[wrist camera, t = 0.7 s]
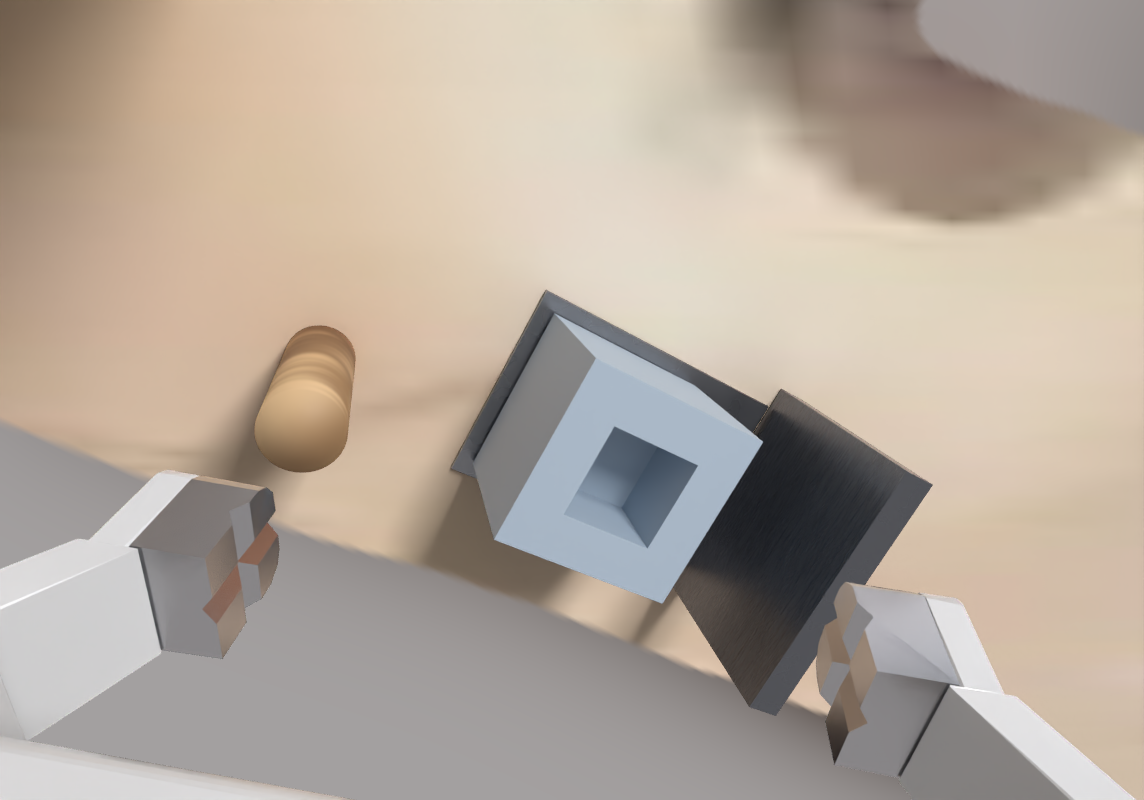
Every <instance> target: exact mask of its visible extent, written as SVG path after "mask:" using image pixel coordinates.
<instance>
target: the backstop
mask: <svg viewBox="0 0 1144 800" xmlns="http://www.w3.org/2000/svg"><path fill="white" fill-rule="evenodd" d="M554 313H555V314H557V315H559V316H561V317H562V318H564V319H566V320H568V321H570V322H572V323H574V324H576V325H578V326H580V327H582V328H584V329H586V330H588V331H590V332H592V333H594V334H596V335H597V336H599V337H601V338H603V339H605V340H607V341H609V342H611V343H613V344H615V345H617V346H619V347H621V348H623V349H625V350H627V351H629V352H631V353H632V354H634V355H636V356H638V357H640V358H642V359H644V360H646V361H648V362H650V363H652V364H654V365H656V366H658V367H660V368H662V369H664V370H666V371H667V372H669V373H671V374H673V375H675V376H677V377H679V378H681V379H683V380H685V381H687V382H689V383H691V384H693V385H695V386H696V387H697V388H698V389H700V390H701V391H702V392H703V393H704V394H706V395H707V396H708V397H709V398H711V399H712V400H713V401H714V402H715V403H717V404H718V405H719V406H720V407H721V408H723V409H724V410H725V411H726V412H728V413H729V414H730V415H731V416H732V417H734V418H735V419H736V420H737V421H738V422H740V423H741V424H742V425H743V426H745V427H746V428H747V429H748V430H749V431H751V432H752V433H753V431H754V430H755V428H756V426H757V425H758V423H759V421H760V420H761V418H762V417H763V415H764V413H765V412H766V410H767V409H768V406H767V405H765V404H763V403H761V402H759V401H757V400H755V399H753V398H751V397H750V396H748V395H746V394H744V393H742V392H740V391H738V390H736V389H734V388H732V387H731V386H729V385H727V384H725V383H723V382H721V381H719V380H717V379H715V378H713V377H711V376H710V375H708V374H706V373H704V372H702V371H700V370H698V369H696V368H694V367H692V366H690V365H689V364H687V363H685V362H683V361H681V360H679V359H677V358H675V357H673V356H671V355H669V354H668V353H666V352H664V351H662V350H660V349H658V348H656V347H654V346H652V345H650V344H649V343H647V342H645V341H643V340H641V339H639V338H637V337H635V336H633V335H631V334H629V333H628V332H626V331H624V330H622V329H620V328H618V327H616V326H614V325H612V324H610V323H608V322H607V321H605V320H603V319H601V318H599V317H597V316H595V315H593V314H591V313H589V312H587V311H586V310H584V309H582V308H580V307H578V306H576V305H574V304H572V303H570V302H568V301H567V300H565V299H563V298H561V297H559V296H557V295H555V294H553V293H551V292H549V291H547V290H546V291H545V293H544V295H543V297H542V299H541V301H540V302H539V304H538V306H537V308H536V310H535V312H534V314H533V315H532V317H531V319H530V321H529V323H528V325H527V327H526V328H525V330H524V332H523V334H522V336H521V338H520V340H519V341H518V343H517V345H516V347H515V349H514V351H513V353H512V354H511V356H510V358H509V360H508V362H507V364H506V366H505V367H504V369H503V371H502V373H501V375H500V377H499V379H498V380H497V382H496V384H495V386H494V388H493V390H492V392H491V393H490V395H489V397H488V399H487V401H486V403H485V405H484V406H483V408H482V410H481V412H480V414H479V416H478V418H477V419H476V421H475V423H474V425H473V427H472V429H471V431H470V432H469V434H468V436H467V438H466V440H465V442H464V444H463V445H462V447H461V449H460V451H459V453H458V455H457V457H456V458H455V460H454V462H453V464H452V466H451V469H454V470H456V471H459V472H461V473H463V474H466V475H468V476H471V477H473V478H476V479H477V476H476V473H475V469H474V466H473V462H474V460H475V458H476V456H477V455H478V453H479V451H480V449H481V447H482V445H483V444H484V442H485V440H486V438H487V436H488V434H489V433H490V431H491V429H492V427H493V425H494V423H495V422H496V420H497V418H498V416H499V414H500V412H501V410H502V409H503V407H504V405H505V403H506V401H507V399H508V398H509V396H510V394H511V392H512V390H513V388H514V387H515V385H516V383H517V381H518V379H519V377H520V376H521V374H522V372H523V370H524V368H525V366H526V365H527V363H528V361H529V359H530V357H531V355H532V353H533V352H534V350H535V348H536V346H537V344H538V342H539V341H540V339H541V337H542V335H543V333H544V331H545V330H546V328H547V326H548V324H549V322H550V320H551V319H552V317H553V315H554ZM753 434H754V435H755V436H757V437H758V438H759V439H760V440H762V441H763V443H762V445H761V446H760V448H759V450H758V451H757V453H756V454H755V456H754V458H753V459H752V461H751V463H750V464H749V466H748V467H747V469H746V471H745V472H744V474H743V475H742V477H741V479H740V480H739V482H738V483H737V485H736V487H735V488H734V490H733V491H732V493H731V495H730V496H729V498H728V499H727V501H726V503H725V504H724V506H723V507H722V509H721V511H720V512H719V514H718V515H717V517H716V519H715V520H714V522H713V523H712V525H711V527H710V528H709V530H708V532H707V533H706V535H705V536H704V538H703V540H702V541H701V543H700V544H699V546H698V548H697V549H696V551H695V552H694V554H693V556H692V557H691V559H690V560H689V562H688V564H687V565H686V567H685V568H684V570H683V572H682V573H681V575H680V576H679V578H678V580H677V581H676V583H675V584H674V586H673V588H674V589H675V591H676V592H677V594H678V595H679V597H680V599H681V600H682V602H683V603H684V605H685V606H686V608H687V610H688V611H689V613H690V614H691V616H692V617H693V619H694V621H695V622H696V624H697V625H698V627H699V628H700V630H701V632H702V633H703V635H704V636H705V638H706V639H707V641H708V643H709V644H710V646H711V647H712V649H713V650H714V652H715V654H716V655H717V657H718V658H719V660H720V661H721V663H722V665H723V666H724V668H725V669H726V671H727V672H728V674H729V676H730V677H731V679H732V680H733V682H734V683H735V685H736V687H737V688H738V690H739V691H740V693H741V694H742V696H743V698H744V699H745V701H746V702H747V704H748V706H749V707H751V708H754V709H757V710H760V711H763V712H766V713H769V714H772V715H775V716H776V715H777V713H778V712H779V710H780V709H781V707H782V706H783V704H784V703H785V702H786V700H787V699H788V697H789V696H790V694H791V693H792V691H793V690H794V688H795V687H796V685H797V684H798V682H799V681H800V679H801V678H802V676H803V675H804V674H805V672H806V671H807V669H808V668H809V666H810V665H811V663H812V662H813V660H814V659H815V657H816V656H817V652H818V644H819V641H820V638H821V635H822V632H823V629H824V626H825V625H827V624H828V623H830V622H831V621H833V620H835V619H836V618H837V614H836V610H835V606H834V601H835V598H836V596H837V593H838V591H839V589H840V588H841V586H842V585H843V584H844V583H845V582H849V583H855V584H861V585H865V584H866V582H867V581H868V579H869V578H870V576H871V575H872V574H873V572H874V571H875V569H876V568H877V566H878V565H879V563H880V562H881V560H882V559H883V557H884V556H885V554H886V553H887V551H888V550H889V549H890V547H891V546H892V544H893V543H894V541H895V540H896V538H897V537H898V535H899V534H900V532H901V531H902V529H903V528H904V526H905V525H906V523H907V522H908V521H909V519H910V518H911V516H912V515H913V513H914V512H915V510H916V509H917V507H918V506H919V504H920V503H921V501H922V500H923V498H924V497H925V496H926V494H927V493H928V491H929V490H930V488H931V487H932V484H931V483H929V482H928V481H926V480H925V479H923V478H921V477H920V476H918V475H917V474H915V473H914V472H912V471H911V470H909V469H908V468H906V467H905V466H903V465H901V464H900V463H898V462H897V461H895V460H894V459H892V458H891V457H889V456H888V455H886V454H884V453H883V452H881V451H880V450H878V449H877V448H875V447H874V446H872V445H871V444H869V443H868V442H866V441H864V440H863V439H861V438H860V437H858V436H857V435H855V434H854V433H852V432H851V431H849V430H848V429H846V428H844V427H843V426H841V425H840V424H838V423H837V422H835V421H834V420H832V419H831V418H829V417H827V416H826V415H824V414H823V413H821V412H820V411H818V410H817V409H815V408H814V407H812V406H811V405H809V404H807V403H806V402H804V401H803V400H801V399H799V398H797V397H796V396H794V395H792V394H790V393H788V392H786V391H784V390H783V389H781V390H780V391H779V393H778V395H777V396H776V398H775V400H774V401H773V403H772V404H771V406H770V408H769V409H768V411H767V412H766V414H765V416H764V417H763V419H762V421H761V422H760V424H759V425H758V427H757V429H756V430H755V432H754V433H753Z"/></svg>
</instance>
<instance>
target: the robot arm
mask: <svg viewBox="0 0 1144 800" xmlns="http://www.w3.org/2000/svg"><path fill="white" fill-rule="evenodd" d="M274 512H275V504H274V498H273V492H272V491H270V490H269V489H268V488H266V487H261V486H256V485H251V484H245V483H240V482H235V481H229V480H224V479H219V478H213V477H208V476H202V475H201V476H198V475H194V474H188V473H183V472H178V471H172V470H165V471H162V472H159V473H157V474H156V475H155V476H154V477H153V478H152V479H151V480H150V481H149V482H147V483H146V484H145V485H144V486H143V487H142V488H141V489H140V490H139V491H138V492H137V493H136V494H135V495H134V496H133V497H132V498H131V499H130V500H129V501H128V502H127V503H126V504H125V505H124V506H123V507H122V508H121V509H120V510H119V511H118V512H117V513H116V514H115V515H114V516H113V517H112V518H111V519H110V520H109V521H108V522H107V523H106V524H105V525H104V526H103V527H102V528H101V529H99V530H98V532H96V534H94V535H93V536H92V537H91V538H90V539H89V540H83V539H76V540H73V541H70V542H68V543H65V544H63V545H60V546H58V547H55V548H53V549H50V550H48V551H45V552H43V553H40V554H37V555H35V556H32V557H30V558H27V559H25V560H22V561H19V562H17V563H15V564H12V565H10V566H7V567H4V568H2V569H0V800H353V799H348V798H342V797H336V796H331V795H326V794H320V793H315V792H309V791H304V790H298V789H293V788H287V787H281V786H276V785H270V784H265V783H259V782H254V781H248V780H242V779H237V778H232V777H226V776H221V775H215V774H209V773H204V772H198V771H193V770H187V769H182V768H176V767H171V766H165V765H160V764H154V763H149V762H143V761H138V760H132V759H126V758H121V757H115V756H110V755H104V754H99V753H93V752H87V751H82V750H77V749H71V748H65V747H60V746H55V745H49V744H43V743H38V742H32V741H29V740H30V739H32V738H33V737H35V736H36V735H38V734H39V733H41V732H43V731H44V730H45V729H47V728H49V727H50V726H52V725H53V724H55V723H56V722H58V721H59V720H61V719H62V718H64V717H65V716H67V715H68V714H70V713H71V712H73V711H75V710H76V709H77V708H79V707H80V706H82V705H84V704H85V703H87V702H88V701H90V700H91V699H93V698H94V697H96V696H97V695H99V694H100V693H102V692H103V691H105V690H106V689H108V688H110V687H111V686H113V685H114V684H116V683H117V682H119V681H120V680H122V679H123V678H125V677H126V676H128V675H129V674H131V673H132V672H134V671H136V670H137V669H139V668H140V667H142V666H143V665H145V664H146V663H148V662H149V661H151V660H152V659H154V658H155V657H157V656H158V655H160V654H161V650H165V651H171V652H178V653H185V654H192V655H199V656H206V657H213V658H220V659H223V657H224V656H225V654H226V653H227V651H228V650H229V648H230V647H231V645H232V644H233V642H234V641H235V639H236V638H237V636H238V635H239V633H240V632H241V630H242V628H243V627H244V625H245V624H246V615H245V608H246V607H248V606H249V605H251V604H253V603H255V602H257V601H259V600H261V599H262V598H263V596H264V594H265V593H266V591H267V589H268V588H269V586H270V585H271V583H272V580H273V576H274V574H275V571H276V568H277V565H278V556H279V540H278V534H277V533H276V532H275V531H274V530H273V528H272V527H271V526H270V525H269V524H268V521H269V519H270V518H271V516H272V515H273V514H274ZM834 606H835V610H836V614H837V618H836V619H835V620H833V621H831V622H830V623H828V624H827V625H825V626H824V629H823V632H822V635H821V638H820V641H819V644H818V652H817V660H816V670H817V681H818V687H819V692H820V694H821V696H822V697H823V698H824V699H825V700H826V701H827V702H828V703H829V704H830V706H831V709H830V711H829V714H828V716H827V718H826V721H825V723H826V728H827V732H828V737H829V742H830V747H831V752H832V757H833V761H834V765H836V766H841V767H846V768H850V769H856V770H860V771H866V772H871V773H876V774H880V775H886V776H890V777H895V778H900V779H899V783H900V784H901V785H902V786H903V788H904V789H905V791H906V792H907V793H908V794H909V796H910V797H911V799H912V800H1136V799H1135V798H1133V797H1132V796H1131V795H1130V794H1129V793H1128V792H1126V791H1125V790H1124V789H1123V788H1122V787H1121V786H1119V785H1118V784H1117V783H1116V782H1115V781H1114V780H1112V779H1111V778H1110V777H1109V776H1108V775H1107V774H1106V773H1104V772H1103V771H1102V770H1101V769H1100V768H1099V767H1097V766H1096V765H1095V764H1094V763H1093V762H1092V761H1090V760H1089V759H1088V758H1087V757H1086V756H1085V755H1084V754H1082V753H1081V752H1080V751H1079V750H1078V749H1077V748H1075V747H1074V746H1073V745H1072V744H1071V743H1070V742H1068V741H1067V740H1066V739H1065V738H1064V737H1063V736H1062V735H1060V734H1059V733H1058V732H1057V731H1056V730H1055V729H1053V728H1052V727H1051V726H1050V725H1049V724H1048V723H1046V722H1045V721H1044V720H1043V719H1042V718H1041V717H1039V716H1038V715H1037V714H1036V713H1035V712H1034V711H1033V710H1031V709H1030V708H1029V707H1028V706H1027V705H1026V704H1024V703H1023V702H1022V701H1021V700H1020V699H1019V698H1017V697H1016V696H1012V695H1006V694H1004V692H1003V690H1002V688H1001V685H1000V683H999V681H998V679H997V677H996V675H995V672H994V670H993V668H992V666H991V664H990V662H989V659H988V657H987V655H986V653H985V651H984V649H983V646H982V644H981V642H980V640H979V638H978V636H977V633H976V631H975V629H974V627H973V625H972V622H971V620H970V618H969V616H968V614H967V612H966V609H965V607H964V605H963V604H962V603H961V602H960V601H959V600H958V599H957V598H953V597H946V596H939V595H932V594H925V593H918V594H917V593H913V592H906V591H900V590H893V589H887V588H881V587H874V586H868V585H861V584H855V583H849V582H845V583H844V584H843V585H842V586H841V588H840V589H839V591H838V593H837V596H836V598H835V601H834Z"/></svg>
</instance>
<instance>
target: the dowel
mask: <svg viewBox="0 0 1144 800" xmlns="http://www.w3.org/2000/svg"><path fill="white" fill-rule="evenodd" d="M354 370H355V352H354V349H353V346H352V344H351V342H350V341H349V340H348V338H347V337H346V336H345V335H343V334H342V333H341V332H339V331H338V330H336V329H334V328H331V327H327V326H311V327H307V328H305V329H302V330H301V331H299V332H298V333H296V334H295V335H294V336H293V337H292V338H291V340H290V341H289V343H288V345H287V347H286V349H285V352H284V354H283V356H282V359H281V361H280V364H279V366H278V368H277V371H276V373H275V375H274V378H273V380H272V382H271V385H270V387H269V389H268V392H267V394H266V397H265V399H264V401H263V404H262V406H261V408H260V411H259V413H258V415H257V418H256V421H255V427H254V433H255V439H256V443H257V445H258V448H259V449H260V451H261V452H262V454H263V455H264V456H265V457H266V458H267V459H268V460H269V461H270V462H271V463H273V464H274V465H276V466H278V467H280V468H282V469H285V470H288V471H292V472H312V471H316V470H319V469H322V468H324V467H326V466H328V465H329V464H331V463H332V462H333V461H335V460H336V459H337V458H338V457H339V455H340V454H341V453H342V451H343V449H344V447H345V445H346V441H347V436H348V427H349V417H350V408H351V398H352V389H353V379H354Z"/></svg>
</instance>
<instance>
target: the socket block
mask: <svg viewBox="0 0 1144 800" xmlns="http://www.w3.org/2000/svg"><path fill="white" fill-rule="evenodd" d="M762 443H763V441H762V440H760V439H759V438H758V437H757V436H755V435H754V434H753V433H752V432H751V431H749V430H748V429H747V428H746V427H745V426H743V425H742V424H741V423H740V422H738V421H737V420H736V419H735V418H734V417H732V416H731V415H730V414H729V413H728V412H726V411H725V410H724V409H723V408H721V407H720V406H719V405H718V404H717V403H715V402H714V401H713V400H712V399H711V398H709V397H708V396H707V395H706V394H704V393H703V392H702V391H701V390H700V389H698V388H697V387H696V386H695V385H693V384H691V383H689V382H687V381H685V380H683V379H681V378H679V377H677V376H675V375H673V374H671V373H669V372H667V371H666V370H664V369H662V368H660V367H658V366H656V365H654V364H652V363H650V362H648V361H646V360H644V359H642V358H640V357H638V356H636V355H634V354H632V353H631V352H629V351H627V350H625V349H623V348H621V347H619V346H617V345H615V344H613V343H611V342H609V341H607V340H605V339H603V338H601V337H599V336H597V335H596V334H594V333H592V332H590V331H588V330H586V329H584V328H582V327H580V326H578V325H576V324H574V323H572V322H570V321H568V320H566V319H564V318H562V317H561V316H559V315H557V314H555V313H554V315H553V317H552V319H551V320H550V322H549V324H548V326H547V328H546V330H545V331H544V333H543V335H542V337H541V339H540V341H539V342H538V344H537V346H536V348H535V350H534V352H533V353H532V355H531V357H530V359H529V361H528V363H527V365H526V366H525V368H524V370H523V372H522V374H521V376H520V377H519V379H518V381H517V383H516V385H515V387H514V388H513V390H512V392H511V394H510V396H509V398H508V399H507V401H506V403H505V405H504V407H503V409H502V410H501V412H500V414H499V416H498V418H497V420H496V422H495V423H494V425H493V427H492V429H491V431H490V433H489V434H488V436H487V438H486V440H485V442H484V444H483V445H482V447H481V449H480V451H479V453H478V455H477V456H476V458H475V460H474V462H473V466H474V469H475V473H476V476H477V480H478V484H479V487H480V491H481V495H482V498H483V502H484V505H485V509H486V513H487V516H488V520H489V524H490V527H491V531H492V534H493V538H494V540H496V541H499V542H501V543H504V544H506V545H509V546H512V547H514V548H517V549H520V550H522V551H525V552H528V553H530V554H533V555H535V556H538V557H541V558H543V559H546V560H549V561H551V562H554V563H557V564H559V565H562V566H564V567H567V568H570V569H572V570H575V571H578V572H580V573H583V574H585V575H588V576H591V577H593V578H596V579H599V580H601V581H604V582H607V583H609V584H612V585H614V586H617V587H620V588H622V589H625V590H628V591H630V592H633V593H636V594H638V595H641V596H643V597H646V598H649V599H651V600H654V601H657V602H659V603H662V604H663V602H664V600H665V599H666V597H667V596H668V594H669V592H670V591H671V589H672V588H673V586H674V584H675V583H676V581H677V580H678V578H679V576H680V575H681V573H682V572H683V570H684V568H685V567H686V565H687V564H688V562H689V560H690V559H691V557H692V556H693V554H694V552H695V551H696V549H697V548H698V546H699V544H700V543H701V541H702V540H703V538H704V536H705V535H706V533H707V532H708V530H709V528H710V527H711V525H712V523H713V522H714V520H715V519H716V517H717V515H718V514H719V512H720V511H721V509H722V507H723V506H724V504H725V503H726V501H727V499H728V498H729V496H730V495H731V493H732V491H733V490H734V488H735V487H736V485H737V483H738V482H739V480H740V479H741V477H742V475H743V474H744V472H745V471H746V469H747V467H748V466H749V464H750V463H751V461H752V459H753V458H754V456H755V454H756V453H757V451H758V450H759V448H760V446H761V445H762Z"/></svg>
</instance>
